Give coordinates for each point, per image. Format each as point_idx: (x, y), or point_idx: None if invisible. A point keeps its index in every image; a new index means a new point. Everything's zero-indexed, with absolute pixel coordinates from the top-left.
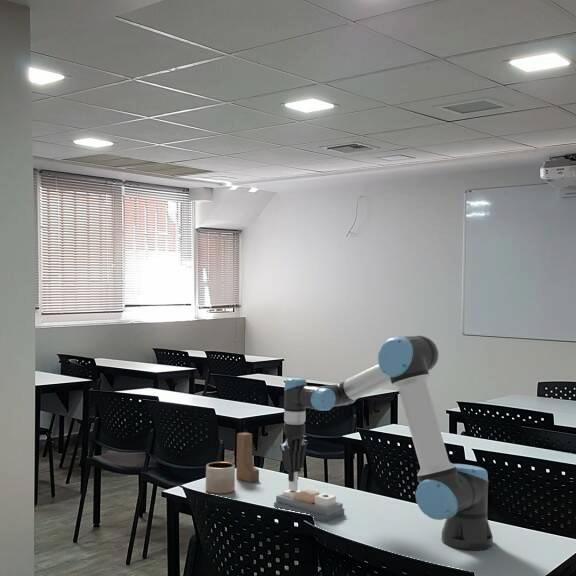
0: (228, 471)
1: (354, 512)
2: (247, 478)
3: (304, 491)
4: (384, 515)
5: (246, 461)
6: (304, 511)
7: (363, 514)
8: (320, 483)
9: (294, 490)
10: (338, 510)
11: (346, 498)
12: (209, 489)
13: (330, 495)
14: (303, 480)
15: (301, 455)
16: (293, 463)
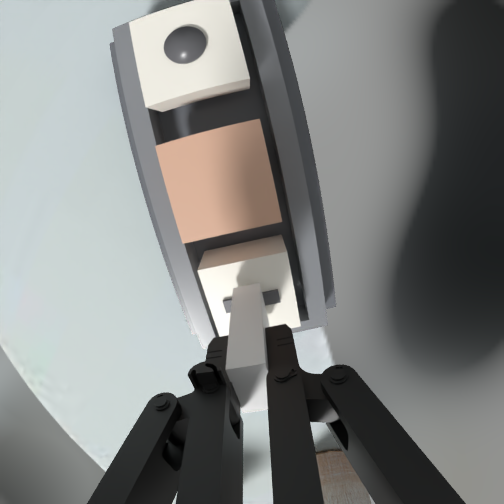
0: (339, 500)
1: (69, 63)
2: None
3: (237, 212)
4: (26, 7)
5: None
6: (304, 115)
7: (62, 31)
8: (38, 391)
9: (260, 286)
10: None
11: (8, 237)
12: None
13: (145, 45)
14: (73, 428)
15: (138, 498)
16: (300, 433)
